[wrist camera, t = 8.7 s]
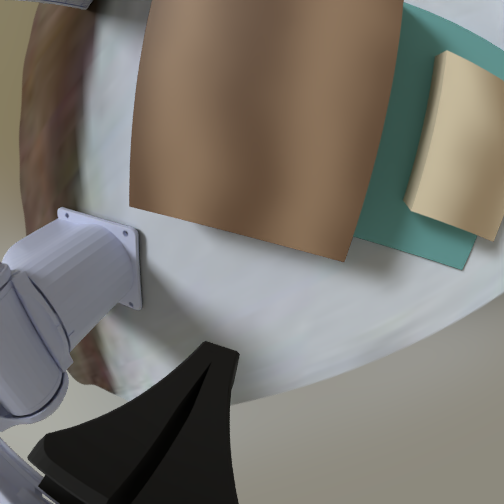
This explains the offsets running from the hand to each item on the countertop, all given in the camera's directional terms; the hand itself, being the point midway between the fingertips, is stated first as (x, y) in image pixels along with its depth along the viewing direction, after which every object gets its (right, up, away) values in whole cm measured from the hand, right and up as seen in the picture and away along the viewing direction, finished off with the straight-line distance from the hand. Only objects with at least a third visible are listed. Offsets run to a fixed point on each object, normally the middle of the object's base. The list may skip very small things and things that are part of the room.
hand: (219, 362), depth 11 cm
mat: (+12, +11, +3) cm, 16 cm away
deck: (+2, +13, +4) cm, 14 cm away
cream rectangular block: (+13, +9, 0) cm, 16 cm away
